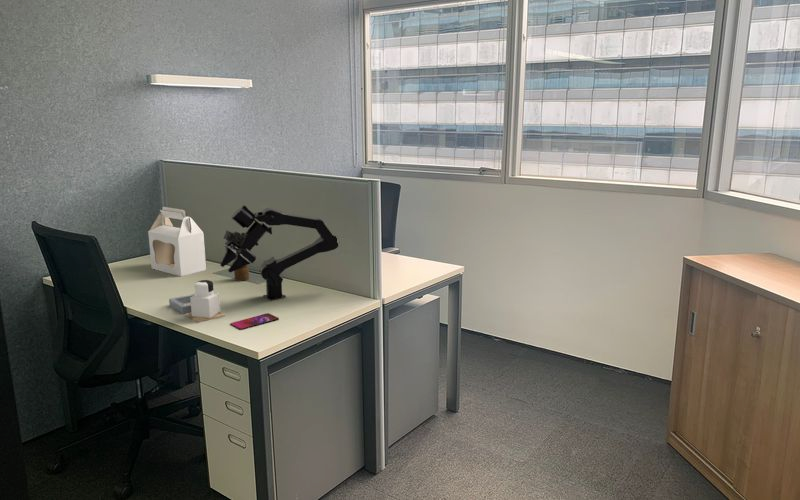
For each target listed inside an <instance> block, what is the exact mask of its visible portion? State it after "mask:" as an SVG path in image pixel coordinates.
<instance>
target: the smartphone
mask: <svg viewBox="0 0 800 500" xmlns="http://www.w3.org/2000/svg"><path fill="white" fill-rule="evenodd" d="M279 320H280V319H279V316H275V315H273V314H272V313H269V312H267V313H262V314H260V315H256V316H252V317H248V318H245V319H241V320H236V321H233V322H231V323H230V322H229V323H230V326H231V327H233V328H235V329H237V330H239V331H243V330H246V329H251V328H254V327H258V326H262V325H266V324H269V323H274V322H277V321H279Z"/></svg>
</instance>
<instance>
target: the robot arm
mask: <svg viewBox="0 0 800 500" xmlns="http://www.w3.org/2000/svg"><path fill="white" fill-rule="evenodd" d="M231 220H233V221H234V222H235V223H236V224H238V225H239V226H240V227H241V228H242V229H244V228H246V229H247V228H248V229H247V230H246V231H245V232H244V231H243V232H238V231H234V232H233V231H230V230H226V231H225V234H224V236H223V239H225V241H226V242H225V243H224V248H225V254H224V256H223V257H222V261H221V262H220V264H219V266H220V267H222V268H224V267H225V266H227V265H229V264H230V263H231V262H232V263H231V265H230V266H229V268H228V270H227V271H228V273H232V272H234V271H235V270H237V269H239V268H241V267H243V266H245V265H248V266H249V265H250V264H254V262H255V261H256V258H257V257H256V255H255V254H254V253H252V252H251V251H252V250H253V249H254V247H255V246H256V247H258V245H259V242H260V241H261V240H262V238H263V237H264V235H265V234H268V235H272V234H273V231H272V229H273V227H272V226H282V225H283V226H285V225H288V226H296V227H303V228H309V229H314V230H316V232H317V233H318V235H319V237H317V239H315V240H314V242H313V243H311V244H308V245H306V246H304V247H302V248H300V249H298V250H296V251H294V252H292V253H289V254H287V255H286V256H284V257H281V258H278V259H276V258H275V257H274V256H272V257H269V259H267V260H266V259H265V260H263V262H262V263H261V264H260V266H259V273H260V276H261V277H262V278H263V280H265V283H266V285H265V287H266V290H265V291H266V294H264V295H263V298H266V299H268V300H270V301H274V300H279V299H282V298H286V297H287V296H286V294H283V286H282V285H283V284H282V283H283V281H284V278H283V276H282V275H281V274H282V273H283V272H284V271H285V270H286V269H288V268H291V267H293V266H295V265H298V264H299V263H301V262H303V261H305V260H307V259H309V258H311V257H313V256H316V255H318V254H320V253H327V252H330V251H334V250H336V249H337V248H339V245H338V243H337V238H338V237H337V236H336V235H335V234H334V235H335V236H334V235H332V233H333V232H331V230H329V228H328V227H327V225H326V224H325V222H324V221H323V219H321V218H320V217H309V216H304V215H297V214H291V213H286V212H283V211H281V210H278V209H276V208H273V207H267V208H265V209H263V210H262V211H258V212H253V211H251V209H249V208H248V207H247V206H246V205H245V204H243V205H242V206H241V207H239V208H238V209H237V210H235V212H234V213H233V214H232V216H231ZM336 237H337V238H336Z"/></svg>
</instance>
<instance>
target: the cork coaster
mask: <svg viewBox="0 0 800 500" xmlns="http://www.w3.org/2000/svg"><path fill="white" fill-rule="evenodd" d="M185 316H186V317H188V318H190V319H191V320H193V321H194V322H196V323H201V322H206V321H210V320H214V319H218V318H223V317H226V314H224V313H223V312H221V311H220V312H219V313H217V314H216V315H214V316H212V317H211V318H202V317H192V314H191V312H190V313H186V314H185Z"/></svg>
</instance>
